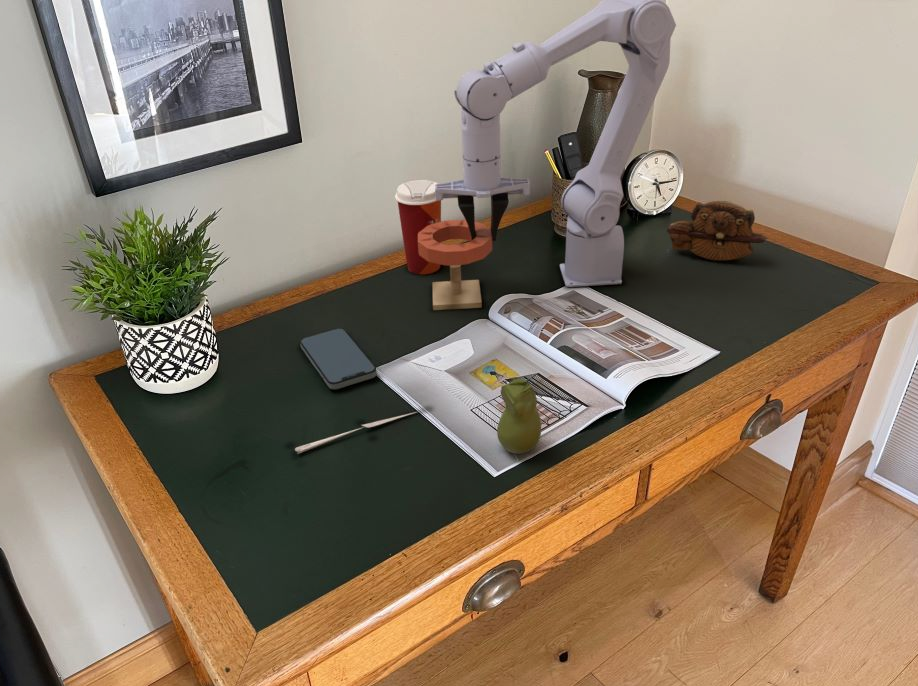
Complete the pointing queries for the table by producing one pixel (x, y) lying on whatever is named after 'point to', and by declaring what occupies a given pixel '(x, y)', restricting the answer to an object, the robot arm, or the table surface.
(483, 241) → the ring
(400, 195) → the coffee cup
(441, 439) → the table surface
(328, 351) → the smartphone
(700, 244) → the wooden carving
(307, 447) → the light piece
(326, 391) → the table surface
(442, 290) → the post
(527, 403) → the pear
